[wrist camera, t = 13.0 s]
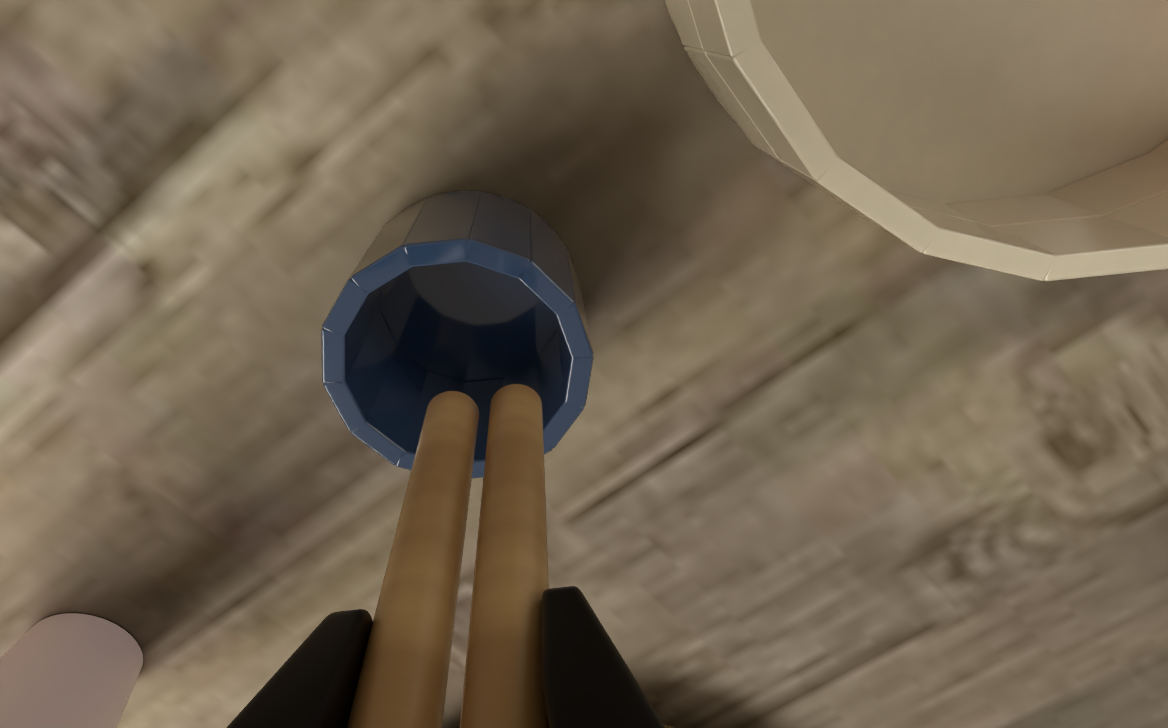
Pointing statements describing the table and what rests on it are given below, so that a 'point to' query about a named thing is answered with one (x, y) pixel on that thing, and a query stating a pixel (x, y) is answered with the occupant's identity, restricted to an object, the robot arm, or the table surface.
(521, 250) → the holder
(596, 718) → the robot arm
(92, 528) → the table surface
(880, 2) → the bowl
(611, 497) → the table surface
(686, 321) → the table surface
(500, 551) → the chopsticks
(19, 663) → the smoothie
